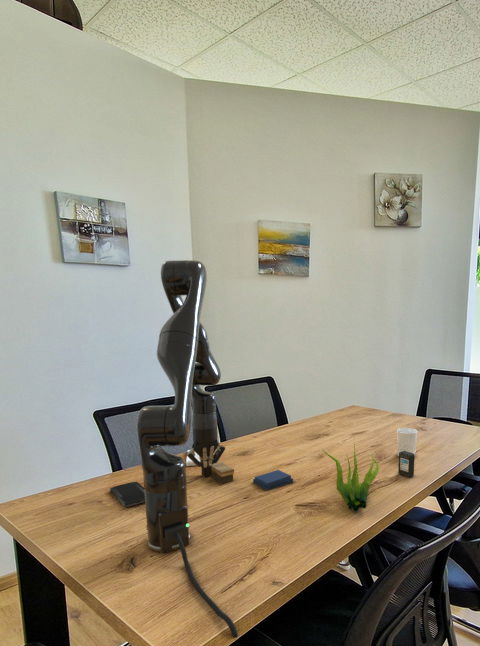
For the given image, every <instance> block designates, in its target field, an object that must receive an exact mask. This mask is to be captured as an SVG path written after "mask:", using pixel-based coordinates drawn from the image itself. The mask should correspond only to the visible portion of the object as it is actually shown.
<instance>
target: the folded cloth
mask: <svg viewBox="0 0 480 646" xmlns="http://www.w3.org/2000/svg"><path fill="white" fill-rule="evenodd" d="M252 482H253V484H255V485H256V486H258V487H259V488H261V489H262V490H265V491H268V490H272V489H275V488H280V487H283V486H286V485H289V484H292V483H294V478H293V477H292V475H291V474H288V473H286V472H285V471H283V470H280V469H276V470H273V471H269V472H266V473H263V474H260V475H259V474H258V475H257V476H254V478H253V479H252Z"/></svg>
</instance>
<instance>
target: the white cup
mask: <svg viewBox="0 0 480 646" xmlns="http://www.w3.org/2000/svg"><path fill="white" fill-rule="evenodd" d="M418 432H419V431H418V430H417V429H415V428H413V427H400V428H397V429H396V455H397V457H399V452H401V451H407V452H411V453H413V454H415V455H416V450H417V444H418V443H417V441H418Z"/></svg>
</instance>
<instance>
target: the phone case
mask: <svg viewBox="0 0 480 646" xmlns="http://www.w3.org/2000/svg"><path fill="white" fill-rule="evenodd" d="M190 450H191V449H188V450H187V451H186V452H189V451H190ZM194 457H195V458H196V459H197V460H198V461H199V462H200V458H199V455H198V454H197V453H196V452H195V456H194ZM185 464H186V467H195V466H197V465H196V464H195V463H194V462H193V461H192V460H191V459H190V458H189V457H188V456H186V460H185Z"/></svg>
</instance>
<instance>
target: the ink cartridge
mask: <svg viewBox="0 0 480 646" xmlns="http://www.w3.org/2000/svg"><path fill="white" fill-rule="evenodd" d="M415 457H416V453H415V454H413V453H411V452H407V451H401V452H399V456H398V467H397V469H398V471H397V473H398V475H401V476H404V477H406V478H412V477H413V476H414V475H415Z"/></svg>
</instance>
